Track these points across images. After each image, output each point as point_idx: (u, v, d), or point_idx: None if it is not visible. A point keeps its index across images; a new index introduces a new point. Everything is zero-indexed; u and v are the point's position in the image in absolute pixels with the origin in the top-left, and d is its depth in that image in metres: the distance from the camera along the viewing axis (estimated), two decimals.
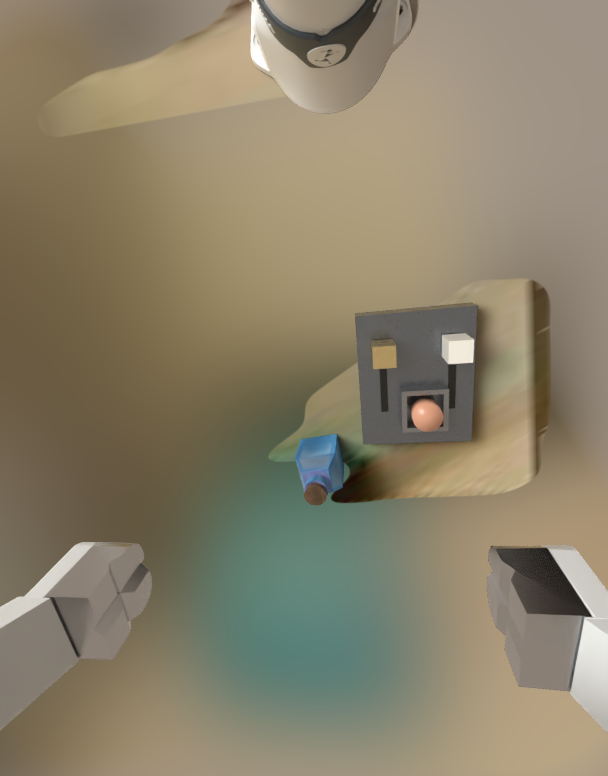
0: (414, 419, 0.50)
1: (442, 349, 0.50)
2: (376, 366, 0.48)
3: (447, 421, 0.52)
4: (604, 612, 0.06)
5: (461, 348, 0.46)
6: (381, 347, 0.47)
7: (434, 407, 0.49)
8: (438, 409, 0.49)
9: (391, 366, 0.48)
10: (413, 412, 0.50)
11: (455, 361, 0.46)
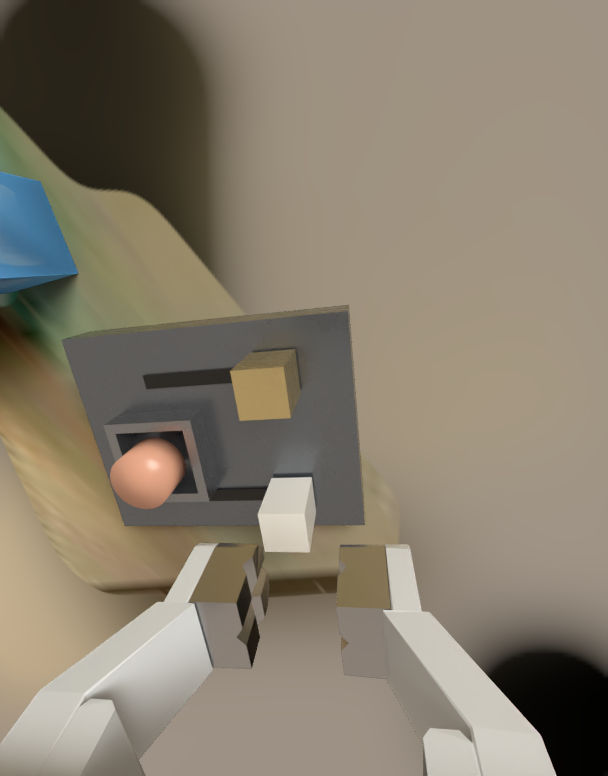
0: (130, 458, 0.23)
1: (284, 481, 0.26)
2: (237, 377, 0.20)
3: None
4: (402, 605, 0.06)
5: (292, 534, 0.23)
6: (284, 387, 0.20)
7: (164, 493, 0.23)
8: (162, 500, 0.24)
9: (241, 410, 0.21)
10: (146, 453, 0.23)
11: (264, 525, 0.23)
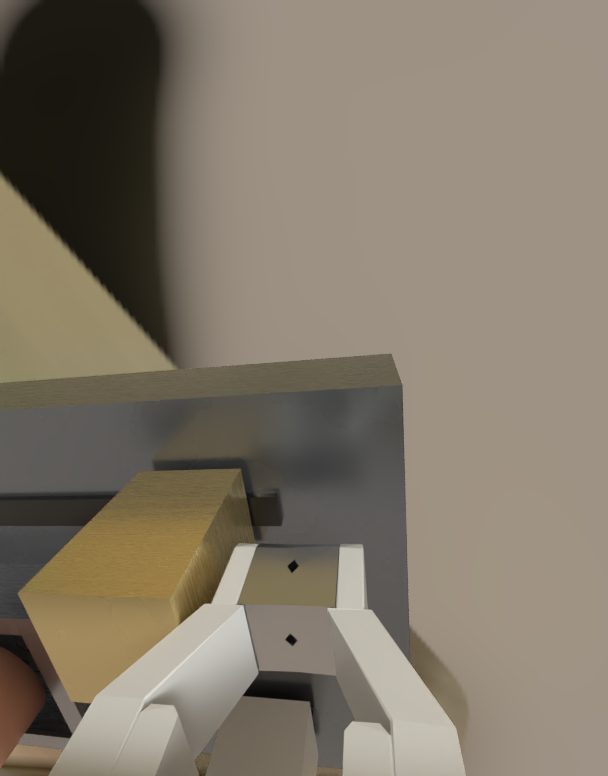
0: None
1: (253, 713, 0.13)
2: (42, 611, 0.07)
3: None
4: (346, 603, 0.06)
5: None
6: None
7: None
8: None
9: (70, 681, 0.07)
10: None
11: None
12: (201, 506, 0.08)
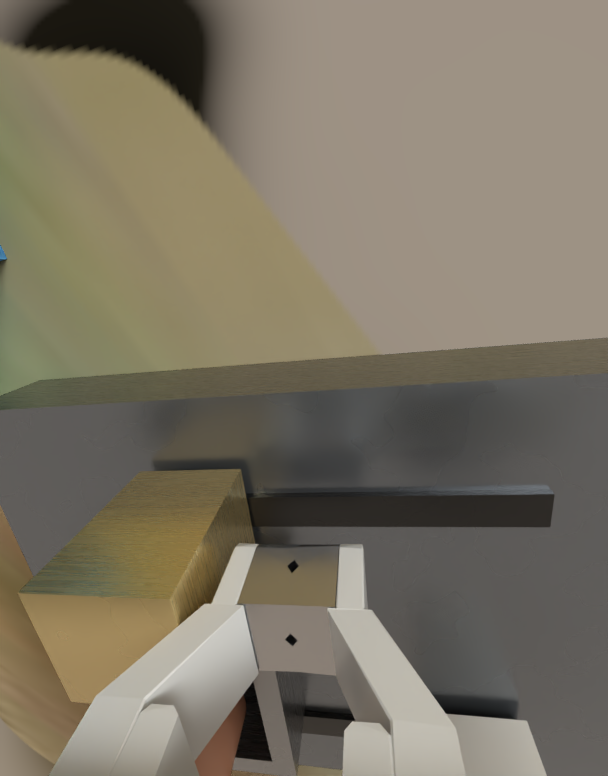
0: None
1: (468, 734, 0.11)
2: (42, 611, 0.07)
3: None
4: (346, 603, 0.06)
5: None
6: None
7: None
8: None
9: (70, 681, 0.07)
10: None
11: None
12: (201, 506, 0.08)
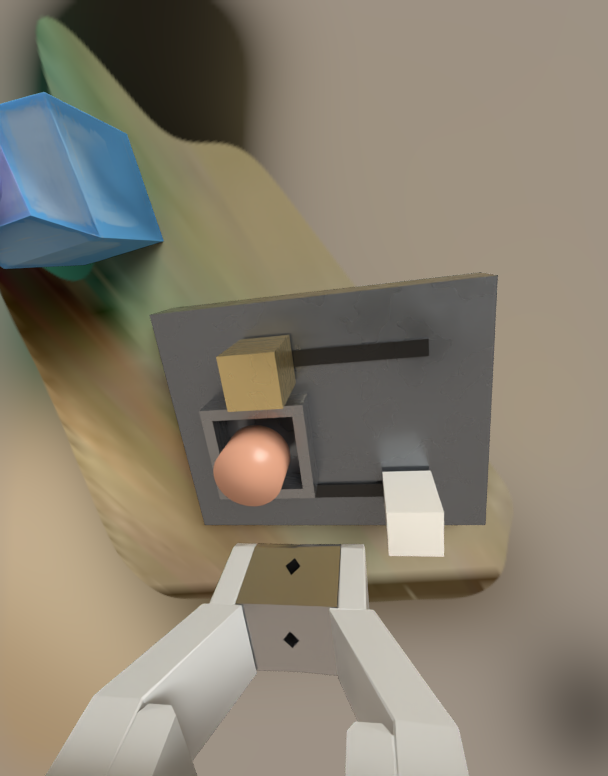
0: (240, 448, 0.20)
1: (400, 475, 0.23)
2: (224, 364, 0.18)
3: None
4: (348, 603, 0.06)
5: (425, 535, 0.20)
6: (275, 374, 0.18)
7: (276, 488, 0.20)
8: (272, 496, 0.21)
9: (229, 400, 0.19)
10: (257, 442, 0.20)
11: (392, 525, 0.20)
12: (275, 341, 0.20)
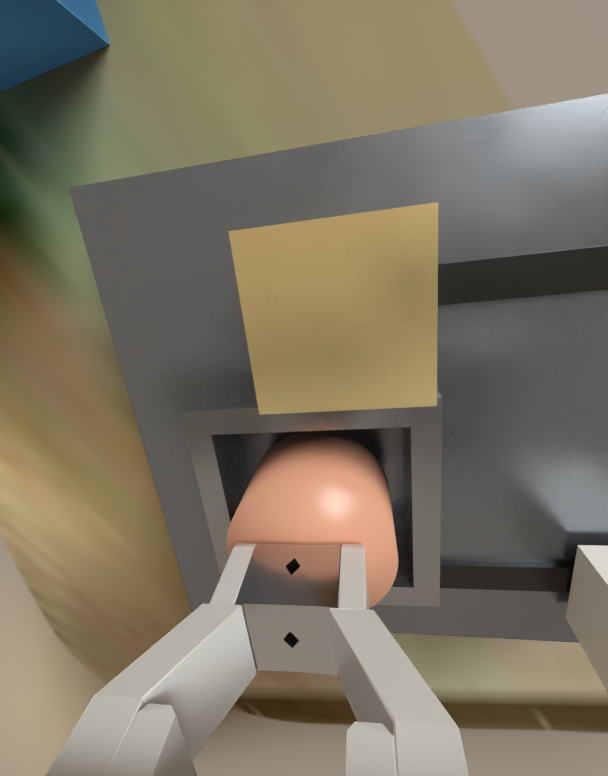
0: (296, 491, 0.08)
1: None
2: (255, 258, 0.06)
3: None
4: (348, 603, 0.06)
5: None
6: (428, 291, 0.05)
7: (379, 586, 0.08)
8: None
9: (265, 379, 0.06)
10: (335, 474, 0.08)
11: None
12: None
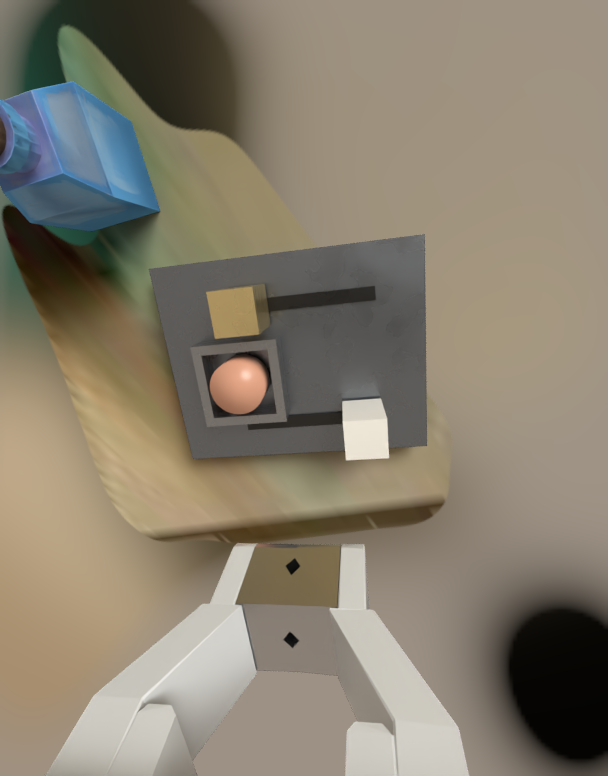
0: (231, 364, 0.26)
1: (356, 402, 0.28)
2: (212, 298, 0.23)
3: (225, 424, 0.28)
4: (348, 603, 0.06)
5: (373, 440, 0.25)
6: (253, 306, 0.23)
7: (259, 397, 0.27)
8: (255, 404, 0.27)
9: (216, 328, 0.24)
10: (244, 361, 0.26)
11: (348, 432, 0.25)
12: (253, 285, 0.25)
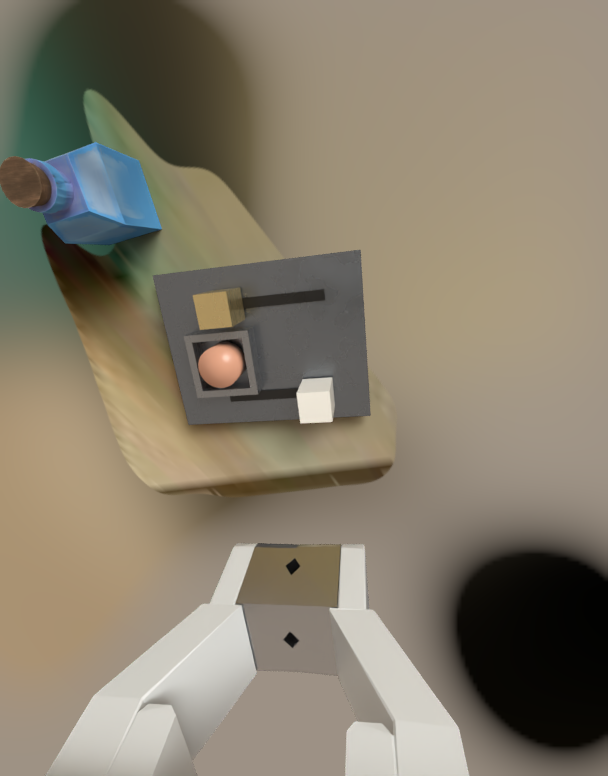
0: (213, 349, 0.34)
1: (312, 380, 0.36)
2: (197, 299, 0.31)
3: (211, 395, 0.37)
4: (348, 603, 0.06)
5: (320, 408, 0.33)
6: (227, 305, 0.31)
7: (235, 375, 0.35)
8: (233, 380, 0.35)
9: (200, 322, 0.32)
10: (224, 347, 0.34)
11: (300, 401, 0.33)
12: (230, 289, 0.33)
